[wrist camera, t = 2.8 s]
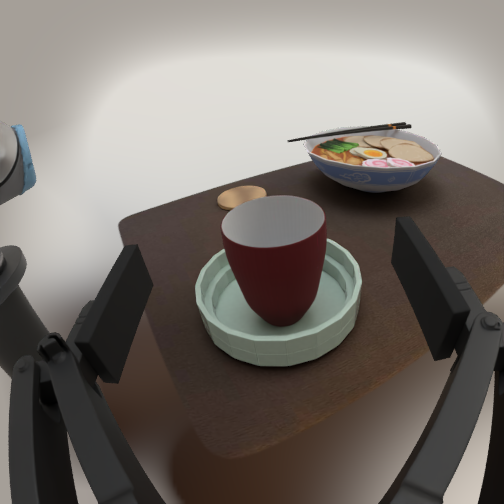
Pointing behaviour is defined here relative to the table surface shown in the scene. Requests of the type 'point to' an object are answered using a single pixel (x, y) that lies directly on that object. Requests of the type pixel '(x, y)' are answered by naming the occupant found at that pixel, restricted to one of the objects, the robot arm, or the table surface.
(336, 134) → the ramen bowl
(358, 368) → the table surface
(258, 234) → the mug
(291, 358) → the serving bowl
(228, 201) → the coaster
